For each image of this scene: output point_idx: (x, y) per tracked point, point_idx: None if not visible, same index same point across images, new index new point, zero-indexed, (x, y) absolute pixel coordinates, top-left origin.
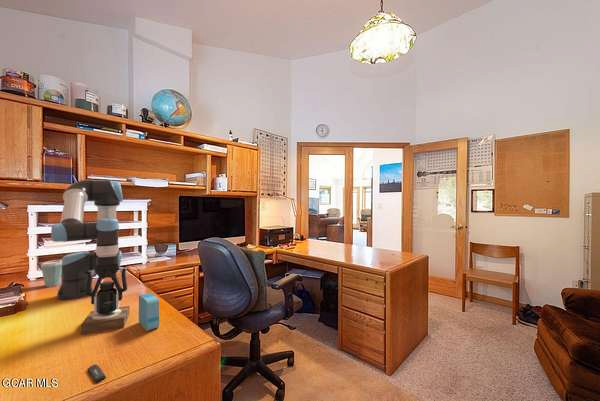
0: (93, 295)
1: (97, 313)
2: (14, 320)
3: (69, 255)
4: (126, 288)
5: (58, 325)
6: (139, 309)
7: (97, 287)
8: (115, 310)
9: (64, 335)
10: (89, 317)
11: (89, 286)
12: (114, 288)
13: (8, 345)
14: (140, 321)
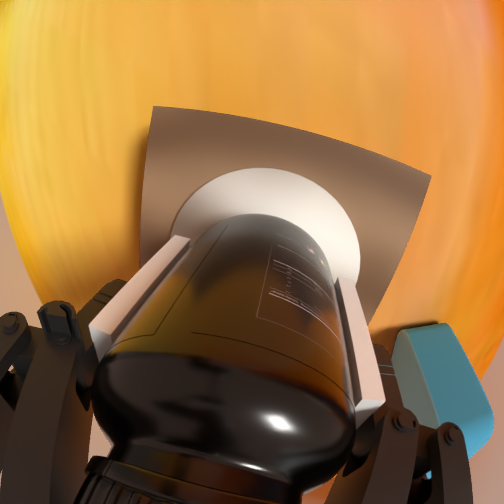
0: (88, 389)
1: (196, 214)
2: (3, 14)
3: None
4: (420, 478)
5: (65, 104)
6: (415, 386)
7: (82, 481)
8: (324, 236)
9: (106, 250)
10: (157, 247)
11: (4, 448)
12: (310, 491)
13: (10, 221)
14: (396, 357)
